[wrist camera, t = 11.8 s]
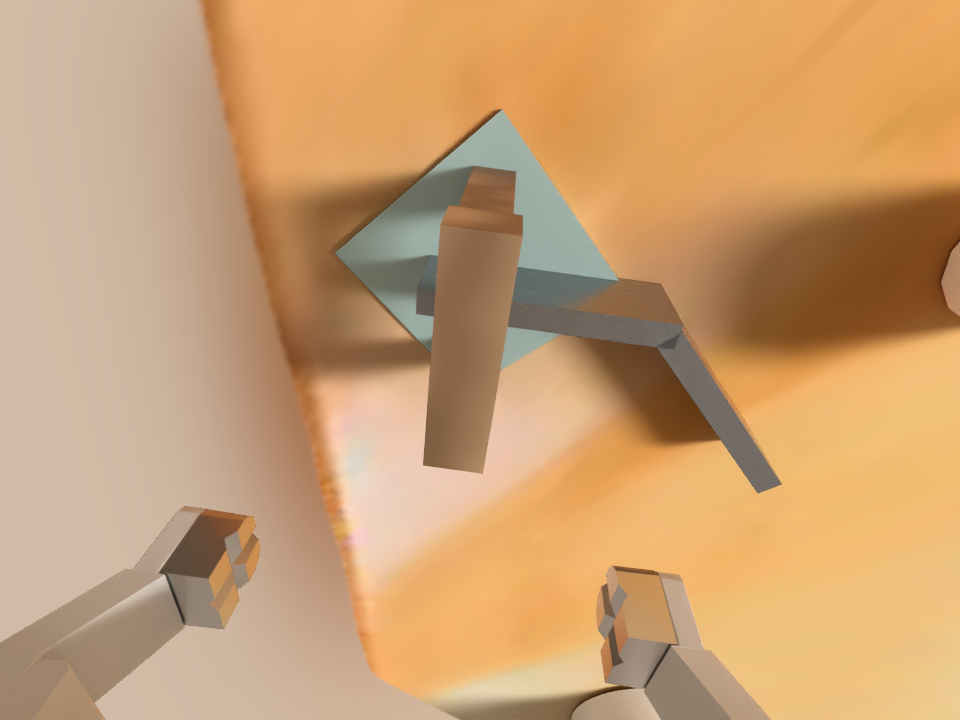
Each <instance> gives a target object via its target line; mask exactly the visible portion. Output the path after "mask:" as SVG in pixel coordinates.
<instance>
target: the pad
mask: <svg viewBox="0 0 960 720" xmlns="http://www.w3.org/2000/svg"><path fill="white" fill-rule="evenodd" d="M474 166H481V167H488V168H495V169H502V170H510V171H516V185H515V201H514V214H517V215H523V238H522V244H521V250H520V256H519V262H518V267H523V268H530V269H538V270H545V271H552V272H559V273H566V274H574V275H581V276H588V277H595V278H603V279H610V280H617V281H619V280H618V278H617V276H616V275H615V273H614V272H613V271H612V269H611V268H610V266H609V265H608V263H607V262H606V260H605V259H604V257H603V256H602V254H601V253H600V251H599V250H598V249H597V247H596V246H595V244H594V243H593V241H592V240H591V238H590V237H589V235H588V234H587V232H586V231H585V230H584V228H583V227H582V225H581V224H580V222H579V221H578V219H577V218H576V216H575V215H574V213H573V212H572V211H571V209H570V208H569V206H568V205H567V203H566V202H565V200H564V199H563V197H562V196H561V194H560V193H559V192H558V190H557V189H556V187H555V186H554V184H553V183H552V181H551V180H550V178H549V177H548V175H547V174H546V172H545V171H544V170H543V168H542V167H541V165H540V164H539V162H538V161H537V159H536V158H535V156H534V155H533V153H532V152H531V151H530V149H529V148H528V146H527V145H526V143H525V142H524V140H523V139H522V137H521V136H520V134H519V133H518V132H517V130H516V129H515V127H514V126H513V124H512V123H511V121H510V120H509V118H508V117H507V115H506V114H505V113H504V111H503V110H500V111H499V112H498V113H497V114H496V115H495V116H493V117H492V118H491V119H490V120H489V121H488V122H486V123H485V124H484V125H483V126H482V127H481V128H479V129H478V130H477V131H476V132H475V133H474V134H472V135H471V136H470V137H469V138H468V139H467V140H465V141H464V142H463V143H462V144H461V145H460V146H459V147H457V148H456V149H455V150H454V151H453V152H452V153H450V154H449V155H448V156H447V157H446V158H445V159H443V160H442V161H441V162H440V163H439V164H438V165H436V166H435V167H434V168H433V169H432V170H431V171H429V172H428V173H427V174H426V175H425V176H424V177H422V178H421V179H420V180H419V181H418V182H417V183H415V184H414V185H413V186H412V187H411V188H410V189H408V190H407V191H406V192H405V193H404V194H403V195H401V196H400V197H399V198H398V199H397V200H396V201H394V202H393V203H392V204H391V205H390V206H389V207H387V208H386V209H385V210H384V211H383V212H382V213H380V214H379V215H378V216H377V217H376V218H375V219H373V220H372V221H371V222H370V223H369V224H368V225H366V226H365V227H364V228H363V229H362V230H361V231H360V232H358V233H357V234H356V235H355V236H354V237H353V238H351V239H350V240H349V241H348V242H347V243H346V244H344V245H343V246H342V247H341V248H340V249H339V250H337V251H336V252H335V254H336V255H337V256H338V257H339V258H340V259H341V260H342V261H343V262H344V264H345V265H346V266H347V267H348V268H349V269H350V270H351V271H352V272H353V273H354V274H355V275H356V276H357V277H358V278H359V279H360V280H361V281H362V282H363V283H364V284H365V285H366V286H367V287H368V289H369V290H370V291H371V292H372V293H373V294H374V295H375V296H376V297H377V298H378V299H379V300H380V301H381V302H382V303H383V304H384V305H385V306H386V307H387V308H388V309H389V310H390V311H391V312H392V313H393V315H394V316H395V317H396V318H397V319H398V320H399V321H400V322H401V323H402V324H403V325H404V326H405V327H406V328H407V329H408V330H409V331H410V332H411V333H412V334H413V335H414V336H415V337H416V338H417V339H418V341H419V342H420V343H421V344H422V345H423V346H424V347H425V348H426V349H427V350H428V351H429V352H430V353H431V348H432V334H433V320H434V317H433V316H426V315H419V314H416V300H417V287H418V285H419V283H420V280H421V278H422V276H423V273H424V271H425V269H426V266H427V264H428V261H429V259H430V257H431V255H436V256H438V249H439V235H440V224H441V222H442V220H443V218H444V215H445V213H446V211H447V209H448V206H449V205H452V206H459V203H460V201H461V198H462V196H463V193H464V191H465V188H466V185H467V183H468V180H469V178H470V175H471V173H472V170H473V167H474ZM558 335H560V334H556V333H549V332H542V331H535V330H527V329H520V328H513V327H507V333H506V339H505V345H504V351H503V357H502V363H501V369H500V370H502V369H503V368H505V367H507V366H508V365H510V364H512V363H513V362H515V361H517V360H518V359H520V358H522V357H523V356H525V355H527V354H528V353H530V352H532V351H533V350H535V349H537V348H538V347H540V346H542V345H543V344H545V343H547V342H548V341H550V340H552V339H553V338H555V337H557V336H558Z"/></svg>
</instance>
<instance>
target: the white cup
mask: <svg viewBox="0 0 960 720" xmlns="http://www.w3.org/2000/svg"><path fill="white" fill-rule="evenodd" d="M941 285H942V288H943V292H944V295H945V299H946V302H947V306H948V308H949V309H950V310H951V311H953V312H954V313H955V314H957V315H958V316H960V242H959V243H958V244H957V245H956V246H955V247H954V249H953V250H952V251H951V254H950V257H949V260H948V263H947V266H946V269H945V272H944V274H943V277H942V280H941Z"/></svg>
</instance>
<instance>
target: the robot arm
mask: <svg viewBox="0 0 960 720" xmlns="http://www.w3.org/2000/svg"><path fill="white" fill-rule="evenodd" d="M255 527H256V524H255V520H254V517H253V516H246V515H240V514H234V513H228V512H221V511H215V510H209V509H202V508H196V507H188V506H184V507H183V508H181V509H180V510H179V511H178V512H176V514H175V515H174V516H173V517H172V519H171V520H170V522H169V523H168V524H167V525H166V527H165V528H164V529H163V531H162V532H161V533H160V534H159V536H158V537H157V538H156V540H155V541H154V542H153V544H152V545H151V546H150V547H149V549H148V550H147V551H146V553H145V554H144V555H143V557H142V558H141V559H140V561H139V562H138V563H137V565H136V566H135V567H134V568H133V569H125V570H123V571H121V572H120V573H118V574H116V575H114V576H113V577H111V578H109V579H108V580H106V581H104V582H103V583H101V584H99V585H98V586H96V587H94V588H93V589H91V590H89V591H87V592H86V593H84V594H82V595H80V596H79V597H77V598H75V599H74V600H72V601H70V602H69V603H67V604H65V605H63V606H62V607H60V608H58V609H57V610H55V611H53V612H51V613H50V614H48V615H46V616H45V617H43V618H41V619H39V620H38V621H36V622H34V623H33V624H31V625H29V626H28V627H26V628H24V629H23V630H21V631H19V632H17V633H16V634H14V635H12V636H11V637H9V638H7V639H6V640H4V641H2V642H0V720H105V718H104V717H103V715H102V714H101V712H100V711H99V709H98V708H97V706H96V705H95V702H96V701H97V700H98V699H100V698H101V697H102V696H103V695H104V694H106V693H107V692H108V691H109V690H110V689H112V688H113V687H114V686H115V685H116V684H117V683H119V682H120V681H121V680H122V679H123V678H125V677H126V676H127V675H128V674H130V673H131V672H132V671H133V670H134V669H136V668H137V667H138V666H139V665H140V664H142V663H143V662H144V661H145V660H146V659H147V658H149V657H150V656H151V655H152V654H153V653H155V652H156V651H157V650H158V649H159V648H161V647H162V646H163V645H164V644H165V643H167V641H169V640H170V639H171V638H173V637H174V636H175V635H176V634H177V633H179V632H180V631H181V630H182V629H183V628H184V627H185V626H184V625H189V626H199V627H209V628H216V629H224V628H225V626H226V624H227V622H228V621H229V619H230V617H231V615H232V613H233V611H234V609H235V607H236V605H237V604H238V602H239V596H238V591H237V590H238V589H239V588H241V587H242V586H243V585H245V584H246V583H248V582H249V581H250V579H251V577H252V575H253V573H254V571H255V568H256V565H257V562H258V558H259V551H260V544H259V539H258V538H257V537H256V536H255V535H254V534H253V530H254V529H255ZM606 577H607V584H605V585H604V586H602V587H601V589H600V592H599V594H598V600H597V608H596V609H597V625H598V631H599V632H600V633H601V635H602V636H603V637H604V639H605V642H604V644H603V647H602V649H601V657H602V664H603V671H604V679H605V683H610V684H615V685H621V686H627V687H633V688H636V689H626V690H619V691H613V692H609V693H605V694H602V695H599V696H596V697H593V698H591V699H589V700H587V701H585V702H584V703H582V704H581V705H580V706H578V707H577V708H576V709H575V711H574V712H573V714H572V718H571V720H771V719H770V718H769V716H768V715H767V714H766V713H765V712H764V711H763V710H762V708H761V707H760V706H759V705H758V704H757V703H756V701H755V700H754V699H753V698H752V697H751V696H750V695H749V693H748V692H747V691H746V690H745V689H744V688H743V687H742V685H741V684H740V683H739V682H738V681H737V680H736V679H735V677H734V676H733V675H732V674H731V673H730V672H729V670H728V669H727V668H726V667H725V666H724V665H723V664H722V662H721V661H720V660H719V659H718V658H717V657H716V656H715V654H714V653H713V652H712V651H711V650H705V649H704V647H703V644H702V640H701V637H700V634H699V631H698V627H697V624H696V621H695V618H694V614H693V611H692V608H691V605H690V602H689V598H688V595H687V592H686V589H685V585H684V582H683V579H682V578H681V577H680V575H677V574H671V573H662V572H655V571H653V570H645V569H636V568H628V567H620V566H611V567H610V568H609V569H608V572H607V574H606Z"/></svg>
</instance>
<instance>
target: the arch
mask: <svg viewBox="0 0 960 720" xmlns="http://www.w3.org/2000/svg"><path fill="white" fill-rule="evenodd" d="M515 185H516V171H510V170H502V169H495V168H488V167H481V166H474V167H473V170H472V173H471V175H470V178H469V180H468V183H467V185H466V188H465V191H464V193H463V196H462V198H461V201H460V203H459V206H452V205H449V206H448V209H447V211H446V213H445V215H444V218H443V220H442V222H441V224H440V235H439V249H438V263H437V277H436V291H435V306H434V320H433V334H432V348H431V362H430V376H429V390H428V404H427V418H426V432H425V446H424V460H423V465H425V466H432V467H439V468H446V469H453V470H461V471H468V472H475V473H482V474H483V469H484V463H485V458H486V452H487V446H488V440H489V434H490V428H491V422H492V416H493V410H494V404H495V398H496V392H497V386H498V380H499V375H500V369H501V363H502V357H503V351H504V345H505V339H506V333H507V327H508V321H509V315H510V309H511V303H512V297H513V291H514V286H515V280H516V274H517V268H518V262H519V256H520V250H521V244H522V238H523V215H517V214H514V201H515Z"/></svg>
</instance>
